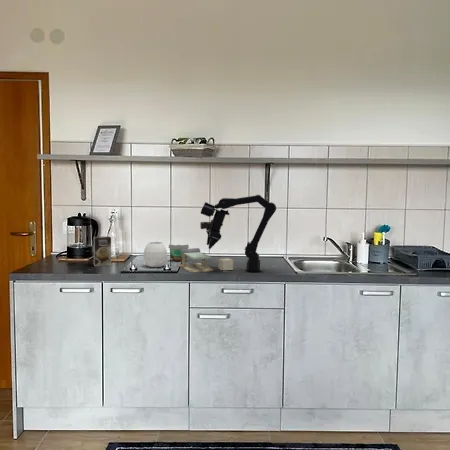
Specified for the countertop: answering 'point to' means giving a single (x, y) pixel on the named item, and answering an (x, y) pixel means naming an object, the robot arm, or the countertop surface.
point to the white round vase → (155, 254)
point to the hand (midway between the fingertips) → (208, 246)
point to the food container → (176, 252)
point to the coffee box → (102, 251)
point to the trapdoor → (194, 253)
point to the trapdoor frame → (194, 266)
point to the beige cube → (226, 264)
